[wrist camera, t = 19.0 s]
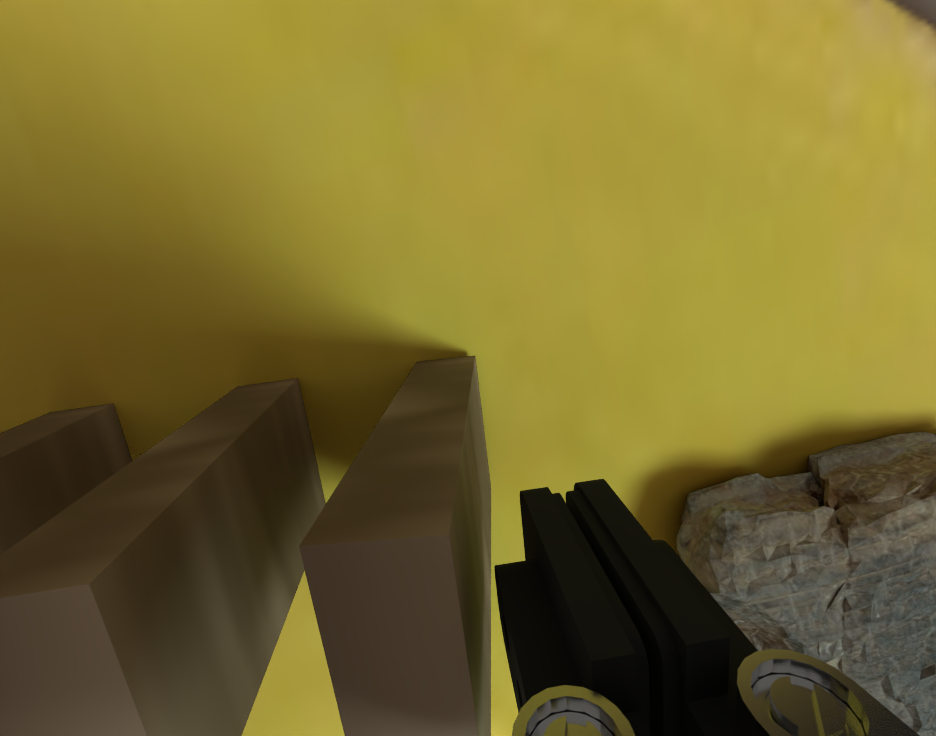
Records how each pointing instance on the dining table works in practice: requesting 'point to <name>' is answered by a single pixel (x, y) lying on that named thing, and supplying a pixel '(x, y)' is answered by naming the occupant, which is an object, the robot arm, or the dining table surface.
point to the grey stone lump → (833, 564)
